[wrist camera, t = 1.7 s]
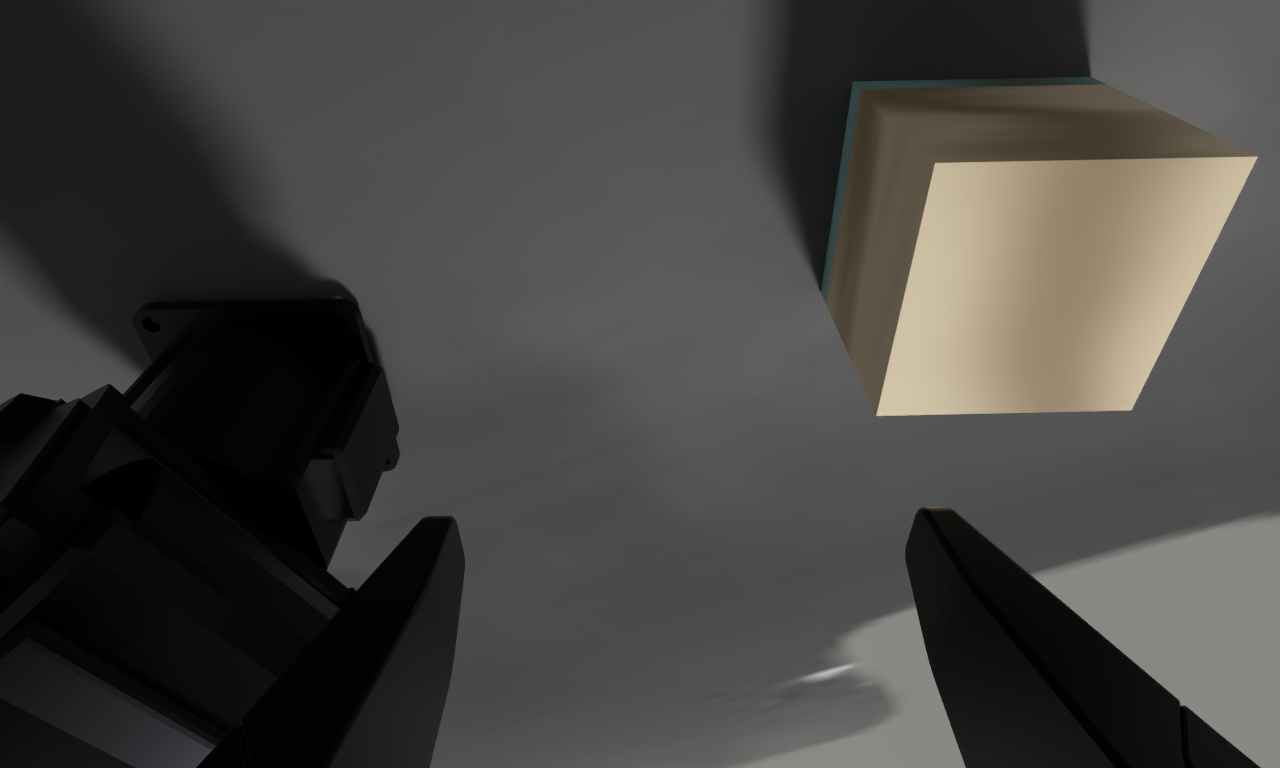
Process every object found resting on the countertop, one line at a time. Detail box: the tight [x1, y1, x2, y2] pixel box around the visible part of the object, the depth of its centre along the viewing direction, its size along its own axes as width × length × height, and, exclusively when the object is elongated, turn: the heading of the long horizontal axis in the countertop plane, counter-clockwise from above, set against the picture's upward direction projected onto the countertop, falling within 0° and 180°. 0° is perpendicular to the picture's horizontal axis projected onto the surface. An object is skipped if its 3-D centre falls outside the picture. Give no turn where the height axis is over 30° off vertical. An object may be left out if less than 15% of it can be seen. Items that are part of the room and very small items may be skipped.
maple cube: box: [821, 77, 1258, 416], centre depth 18 cm, size 6×6×6 cm
